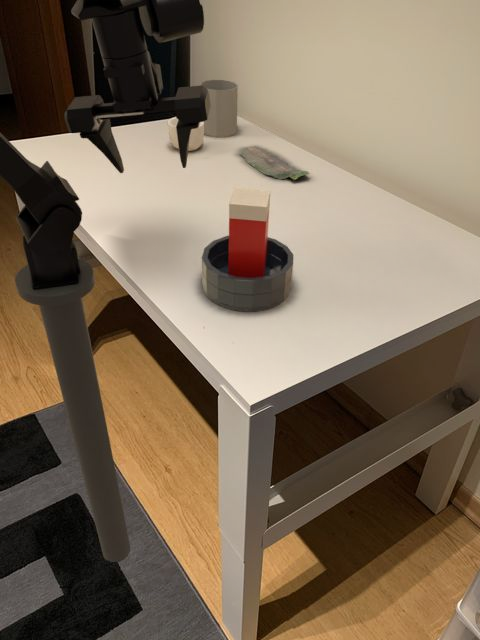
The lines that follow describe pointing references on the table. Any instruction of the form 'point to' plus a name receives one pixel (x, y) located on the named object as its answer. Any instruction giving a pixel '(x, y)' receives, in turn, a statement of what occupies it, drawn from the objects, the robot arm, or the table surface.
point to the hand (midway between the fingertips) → (153, 169)
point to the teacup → (195, 135)
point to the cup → (221, 108)
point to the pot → (247, 290)
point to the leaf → (270, 164)
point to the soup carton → (248, 232)
